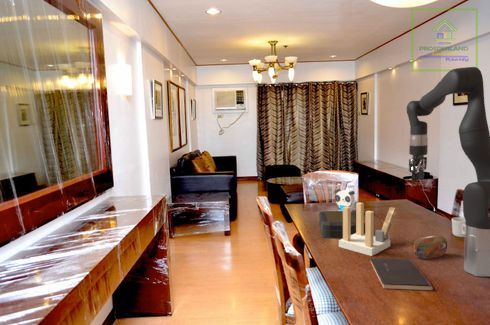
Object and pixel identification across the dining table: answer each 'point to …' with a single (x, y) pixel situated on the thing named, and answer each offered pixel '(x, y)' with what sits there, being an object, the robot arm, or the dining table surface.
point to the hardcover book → (400, 274)
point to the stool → (362, 233)
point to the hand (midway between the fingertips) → (417, 180)
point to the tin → (430, 247)
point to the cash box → (334, 224)
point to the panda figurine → (344, 198)
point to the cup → (458, 226)
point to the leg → (388, 221)
